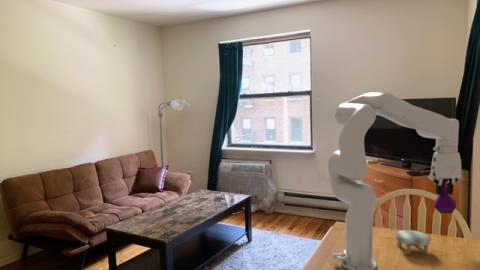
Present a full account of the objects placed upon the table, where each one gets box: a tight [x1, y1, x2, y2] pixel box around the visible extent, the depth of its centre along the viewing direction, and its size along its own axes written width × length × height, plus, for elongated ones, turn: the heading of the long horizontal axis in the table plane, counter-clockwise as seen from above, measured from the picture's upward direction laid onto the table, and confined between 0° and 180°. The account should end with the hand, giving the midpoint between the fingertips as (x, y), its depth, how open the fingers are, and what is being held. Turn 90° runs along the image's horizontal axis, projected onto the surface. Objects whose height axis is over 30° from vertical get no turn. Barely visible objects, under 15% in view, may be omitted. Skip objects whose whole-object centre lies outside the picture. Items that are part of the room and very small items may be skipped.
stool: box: [395, 229, 431, 257], centre depth 138 cm, size 12×12×6 cm
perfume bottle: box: [433, 179, 457, 215], centre depth 139 cm, size 8×8×18 cm
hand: (444, 193), depth 139 cm, fingers closed on perfume bottle, 3 cm apart
